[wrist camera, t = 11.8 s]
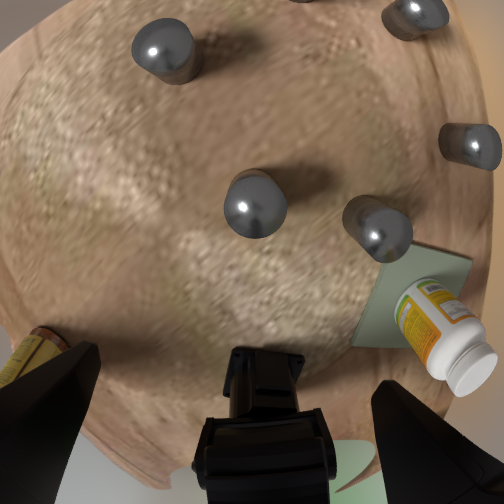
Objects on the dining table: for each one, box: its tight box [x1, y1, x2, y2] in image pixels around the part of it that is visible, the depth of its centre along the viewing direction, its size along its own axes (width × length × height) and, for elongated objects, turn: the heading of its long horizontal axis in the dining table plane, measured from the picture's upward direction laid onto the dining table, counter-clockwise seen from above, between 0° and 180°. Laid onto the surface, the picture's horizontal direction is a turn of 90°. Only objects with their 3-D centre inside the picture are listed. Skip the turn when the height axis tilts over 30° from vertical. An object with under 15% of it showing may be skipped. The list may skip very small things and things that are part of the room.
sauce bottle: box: [0, 328, 69, 388], centre depth 15 cm, size 6×6×20 cm
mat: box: [350, 243, 473, 348], centre depth 22 cm, size 10×10×1 cm
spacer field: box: [132, 0, 502, 263], centre depth 14 cm, size 19×24×4 cm
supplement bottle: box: [394, 278, 498, 397], centre depth 17 cm, size 5×5×10 cm
